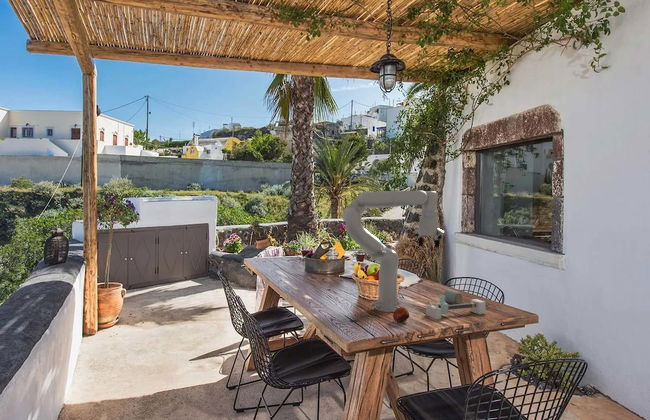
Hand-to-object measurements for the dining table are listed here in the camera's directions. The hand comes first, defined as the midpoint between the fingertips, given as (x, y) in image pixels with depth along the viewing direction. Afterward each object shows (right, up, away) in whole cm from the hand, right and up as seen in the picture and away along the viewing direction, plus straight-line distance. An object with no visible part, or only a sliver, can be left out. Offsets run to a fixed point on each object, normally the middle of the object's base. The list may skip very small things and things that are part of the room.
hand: (428, 246), depth 206 cm
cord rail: (+11, -33, -11) cm, 37 cm away
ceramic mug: (+17, -33, +12) cm, 39 cm away
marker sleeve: (+3, -31, -14) cm, 34 cm away
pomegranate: (-19, -33, -25) cm, 46 cm away
